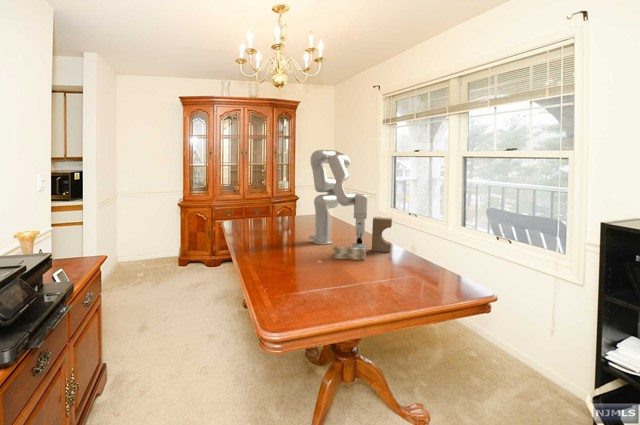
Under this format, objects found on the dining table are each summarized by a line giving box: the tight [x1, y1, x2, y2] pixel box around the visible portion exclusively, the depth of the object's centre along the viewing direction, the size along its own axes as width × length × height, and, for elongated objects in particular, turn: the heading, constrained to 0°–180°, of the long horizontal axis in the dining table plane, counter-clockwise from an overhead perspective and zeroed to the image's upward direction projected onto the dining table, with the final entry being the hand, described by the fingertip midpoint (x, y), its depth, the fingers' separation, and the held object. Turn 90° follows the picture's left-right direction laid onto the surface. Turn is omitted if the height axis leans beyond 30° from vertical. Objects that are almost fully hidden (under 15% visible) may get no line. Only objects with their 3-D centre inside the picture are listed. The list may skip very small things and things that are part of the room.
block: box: [351, 242, 367, 259], centre depth 208 cm, size 8×8×6 cm
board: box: [332, 246, 367, 261], centre depth 202 cm, size 18×3×6 cm, turn 81°
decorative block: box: [371, 216, 393, 253], centre depth 218 cm, size 11×6×20 cm, turn 75°
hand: (359, 245), depth 214 cm, fingers closed
